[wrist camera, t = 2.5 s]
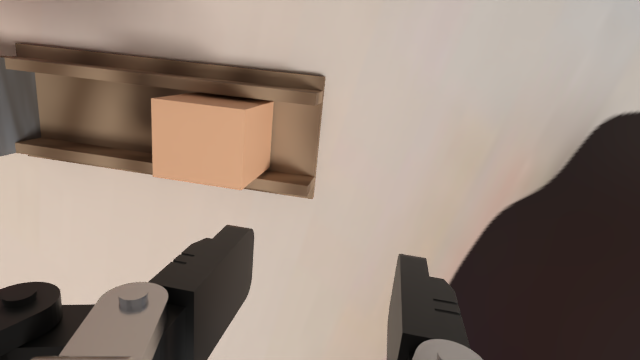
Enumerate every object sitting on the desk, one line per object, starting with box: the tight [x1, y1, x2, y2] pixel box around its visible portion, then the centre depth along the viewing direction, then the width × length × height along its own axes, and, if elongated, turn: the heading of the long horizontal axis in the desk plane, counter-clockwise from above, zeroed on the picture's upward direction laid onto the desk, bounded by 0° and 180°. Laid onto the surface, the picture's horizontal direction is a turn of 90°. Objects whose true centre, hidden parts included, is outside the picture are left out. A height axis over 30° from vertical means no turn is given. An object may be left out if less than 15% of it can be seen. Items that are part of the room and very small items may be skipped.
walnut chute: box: [0, 43, 325, 199], centre depth 29 cm, size 25×9×6 cm, turn 84°
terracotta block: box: [151, 92, 274, 190], centre depth 28 cm, size 6×5×6 cm
